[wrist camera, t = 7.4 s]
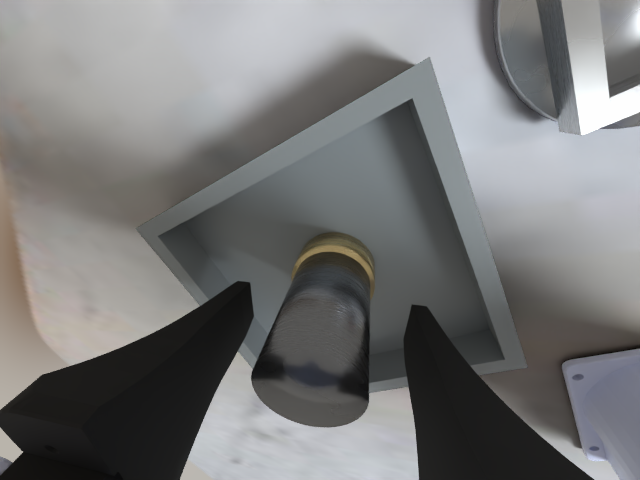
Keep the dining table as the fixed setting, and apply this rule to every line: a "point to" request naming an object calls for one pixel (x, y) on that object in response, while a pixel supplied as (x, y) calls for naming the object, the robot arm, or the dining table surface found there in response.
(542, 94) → the stud socket
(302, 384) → the grey metal rounded cylinder
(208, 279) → the bin tray
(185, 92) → the dining table surface
